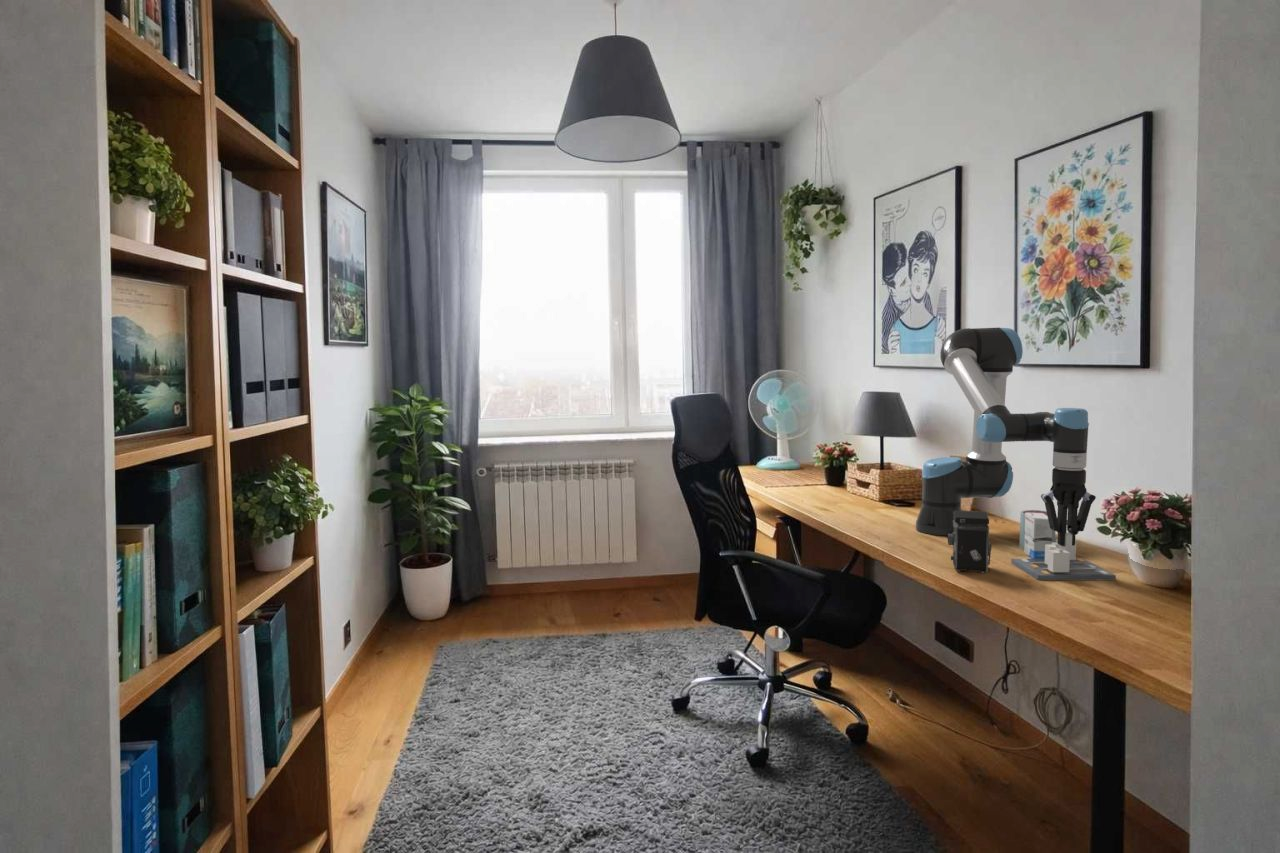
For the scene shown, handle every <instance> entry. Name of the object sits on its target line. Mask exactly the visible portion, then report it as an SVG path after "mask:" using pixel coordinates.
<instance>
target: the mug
mask: <svg viewBox="0 0 1280 853" xmlns="http://www.w3.org/2000/svg"><path fill="white" fill-rule="evenodd" d="M1025 513H1043V514H1045V515H1046V516H1047V511H1045V510H1038V509H1027V510H1021V511H1020V513H1019V514H1020V520H1019V521H1020V522H1019V545H1020V546H1019V547H1020V548H1023V549H1024V548H1025ZM1056 539H1058V537H1056V531H1054V530H1052V543H1054V542H1055V543H1056Z"/></svg>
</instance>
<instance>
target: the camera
mask: <svg viewBox="0 0 1280 853" xmlns="http://www.w3.org/2000/svg"><path fill="white" fill-rule="evenodd" d="M953 516H954V520H953V527H954V532H953V533H952V534H948V535H947V545H948V546H952V547H953V548H952V555H950V561H952V564H953V568H954V570H956V571H957V572H958V571H959V572H960V571H969V572H971V571H972V572H981V574H984V573H987V572H988V570H989V569H988V568H989V566H990V565H991V564H990V563H991V555H992V553H991V552H992V544H991V543H990V527H989V524H990V519H989V517H988V515H987V512H986V511H978V510H977V511H976V510H975V511H974V510H962V511H957V510H956V511H954V512H953Z"/></svg>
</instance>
